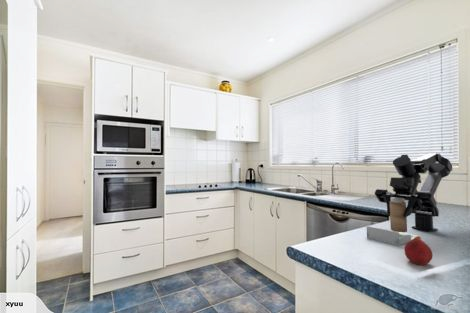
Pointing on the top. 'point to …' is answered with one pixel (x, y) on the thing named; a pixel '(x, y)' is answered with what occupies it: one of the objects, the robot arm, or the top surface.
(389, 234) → the lane rack
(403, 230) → the pepper mill
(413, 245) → the onion
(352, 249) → the top surface
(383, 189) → the robot arm
